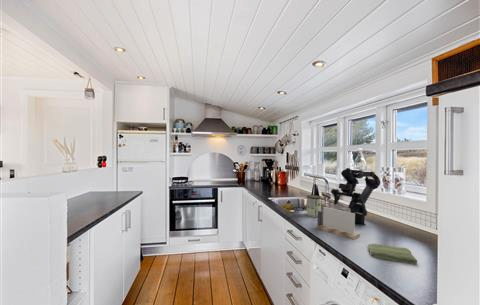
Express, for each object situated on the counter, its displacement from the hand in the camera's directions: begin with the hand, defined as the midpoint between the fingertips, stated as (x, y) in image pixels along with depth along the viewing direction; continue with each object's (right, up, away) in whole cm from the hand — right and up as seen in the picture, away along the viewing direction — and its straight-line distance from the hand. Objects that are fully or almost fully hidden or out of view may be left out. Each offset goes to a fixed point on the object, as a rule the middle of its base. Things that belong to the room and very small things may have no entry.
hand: (341, 206), depth 138 cm
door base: (-6, -14, -6) cm, 16 cm away
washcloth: (+6, -15, -35) cm, 39 cm away
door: (-6, -12, -6) cm, 15 cm away
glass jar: (-8, -14, +29) cm, 33 cm away
